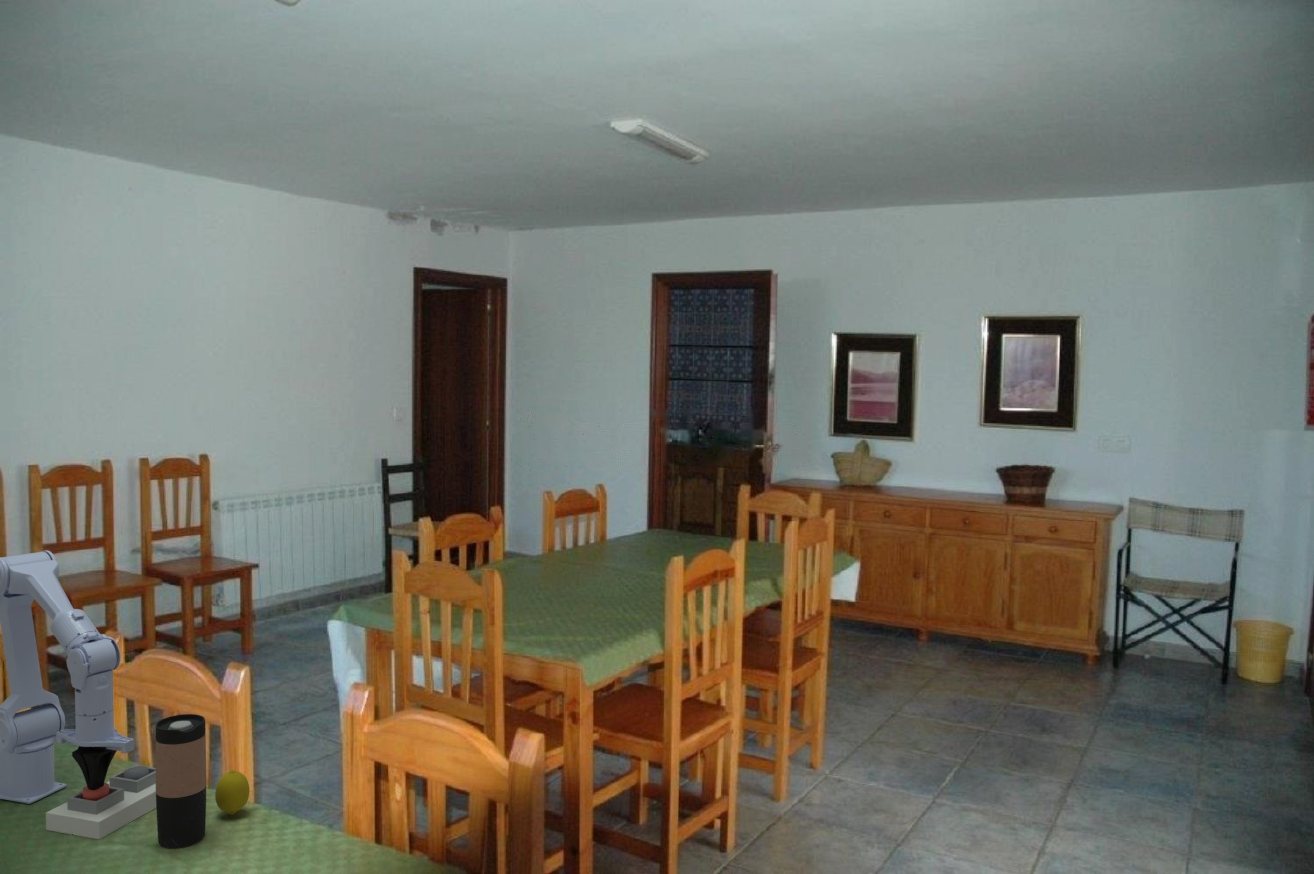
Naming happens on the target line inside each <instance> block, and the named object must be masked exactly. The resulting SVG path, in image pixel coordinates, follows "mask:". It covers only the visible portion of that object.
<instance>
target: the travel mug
mask: <svg viewBox="0 0 1314 874" xmlns="http://www.w3.org/2000/svg"><path fill="white" fill-rule="evenodd" d="M206 736H207V735H206V718H205V717H204V716H202V715H200V714H197V713H196V714H194V713H193V714H192V713H184V714H177V715H176V714H175V715H171V716H167V717H164V718H162V719H160V720H159V721H157V722H156V724H155V768H156V808H155V809H156V810H155V811H156V827H157V829H156V830H157V842H158V845H159V846H161V847H162V848H166V849H182V848H187V847H189V846H193V845H195V844H198V843H199V842H201V841H202V840H203V839H204V838H205V836H206V827H207V826H206V822H207V821H206V820H207V819H206V818H207V817H206V815H207V814H206V813H207V784H208V783H207V752H206V751H207V748H206V747H207V744H206V741H207V739H206Z"/></svg>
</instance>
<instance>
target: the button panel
mask: <svg viewBox="0 0 1314 874" xmlns="http://www.w3.org/2000/svg"><path fill="white" fill-rule="evenodd" d="M137 766H141V765H139V764H134V765H132V766H130V767H128V768H125V769H124V770H122V771H119V772H118V773H116V774H113V775H112V776H109V780H108V781H107V782H105V783H107V784H109V795H107V796H105V797H103V798H101V799H100V800H98V801H92V800H86V799H83V790H81V791H79V792H78V793H76V794H73V795H71V796H69V797H67V801H66V802H65V803H62V804H60V805H58V806H57V807H54V808H52V809H50V810H49V811H46V812H45V830H46V831H52V832H56V833H61V834H67V835H72V834H73V836H77V837H83V838H89V839H90V838H91V839H94V840H101V839H103V838H104V837H106V836H109V835H110V834H111V833H113V832H115V831H117V830H119V829H120V828H122V827H124V826H125V825H127V824H130V823H131V822H133V821H134V820H137V819H138V818H140V817H142V816H143V815H145V814H147V813H149V812H151V811H152V810H155V809H156V767H153V766H152V767H151V766H146V765H144V766H145V767H148V768H149V774H148V775H146V776H144V777H142V778H140V779H138V780H133V779H127V778H124V771H125V770H127V769H129V768H132V767H137Z"/></svg>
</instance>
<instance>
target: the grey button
mask: <svg viewBox="0 0 1314 874" xmlns="http://www.w3.org/2000/svg"><path fill="white" fill-rule="evenodd" d="M145 766H146V765H140V766H137V767H132V766H131V767H132V768H130V767H128V768H129V769H128V768H126V769H127V770H126V769H124V770H125V771H124V770H123V771H124V778H127V779H133V780H138V779H140V778H142V777H144V776H146V775H148V774H149V768H148V767H149V766H147V767H145Z"/></svg>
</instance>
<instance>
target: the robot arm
mask: <svg viewBox="0 0 1314 874" xmlns="http://www.w3.org/2000/svg"><path fill="white" fill-rule="evenodd" d="M59 576H60V565H59V562H58V559H57V558H56V556H55V555H54V554H53V553H52V551H50V550H47V549H45V550H42V551H38V552H37V551H36V552H30V553H24V554H23V553H22V554H18V555H17V554H16V555H10V556H3V557H0V631H1V637H2V645H3V651H4V658H5V665H6V672H7V678H8V687H9V693H10V695H9V696H7V698H6V699H4V701H3V702H2V703H1V704H0V800H6V801H11V802H16V803H23V804H33V803H35V802H36V801H39V800H42V799H43V798H45V797H47V796H49V795H52V794H53V793H56V792H58V791H60V790H62V789H65V788H66V787H67V783H64V782H58V781H56V780H55V743H56V744H59V745H62V744H65V743H66V744H72V745H75V746H78V747H77V749H76V750H74V751H72V753H71V757H72V758H73V759H74V760H75V762H76V764H78V766H79V768H80V770H81V772H82V775H83V777H84V780H85V783H86V786H87V787H88V789H89V790H97V789H98V788H100V787H102V786H104V783H106V782H105V781H106V778H107V774H108V771H109V768H110V765H111V763H112V760H113V758H114V756H115V755H116V753H117V751H118V752H120V753H121V754H128V753H130V752H132V751H134V750H135V738H131V737H127V736H126V735H123V734H121V733H119V732H118V728H117V727H115V720H114V719H115V717H114V715H115V714H114V713H115V712H114V711H115V710H114V707H115V705H114V703H115V702H114V671H116V670H117V669H118V668H119V666H120V664H121V651H120V648H119V645H118V643H117V642H116V640H115V638H114V637H111V636H107V635H106V634H105V633H102V634H101V633H100V632H99V630H98V629H97V628H96V626H95V624H93V622H92V620H91V619H90V618H89V616H88V615H87V613H86V612H85V611H84V610H83V609H80V608H79V609H78V608H74V607H73V605H72V604H71V602H70V600H69V598H68V596H67V594H66V593H65V591H64V589H63V586H62V584H61V583H60V581H59ZM34 600H35V602H36V603H37V604H38V605H39V606H40V608H42V609H43V611H44V612H45V613H46V614H47V615H48V617H49V618H50V619H51V620H52V622H51V624H50V632H51V633H52V634H53V636H54V637H55V638H56V640H57V642H58V643H59V645H60V647H61V648H62V649H63V650H64V652H65V653H66V655H67V658H66V660H65V661H66V667H67V670H68V673H69V675H70V684H71V687H72V688H74V708H75V710H74V713H75V721H74V722H75V729H71V728H65V727H66V716H65V713H64V711H63V709H62V707H61V702H60V699H59V696H58V695H57V694H55V693H52V692H50V691H48V690H45V688H43V680H42V673H41V667H40V661H39V652H38V645H37V640H36V632H35V626H34V624H35V623H34V619H33V613H32V612H33V611H32V604H33V602H34ZM33 707H34V708H33Z"/></svg>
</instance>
